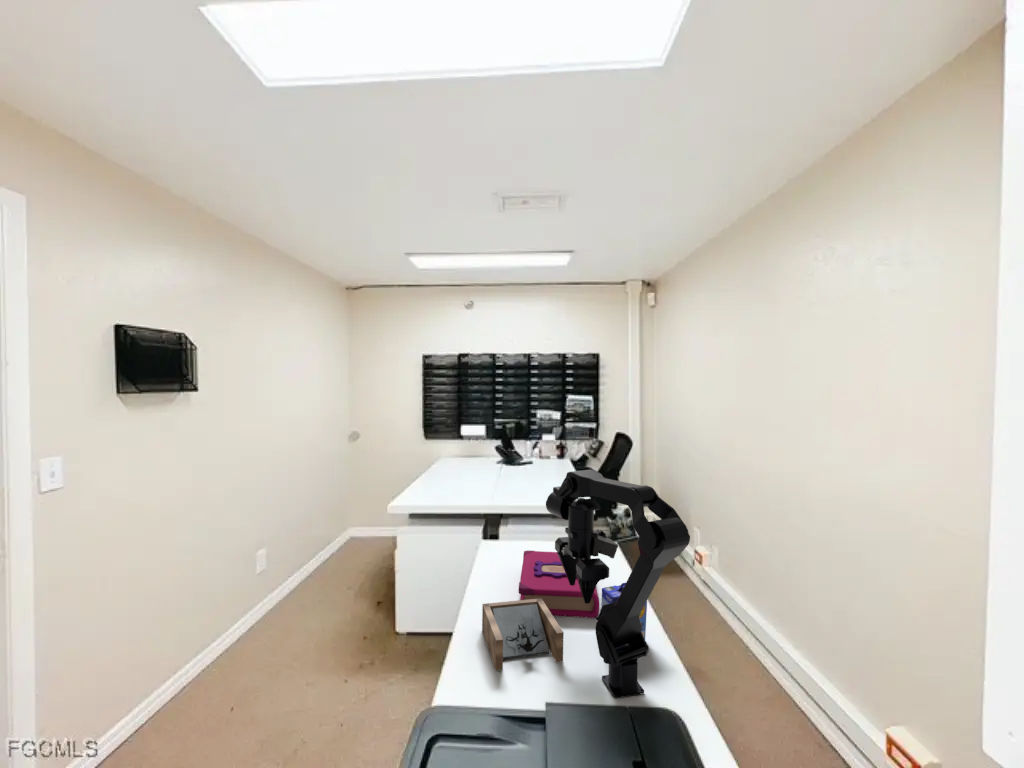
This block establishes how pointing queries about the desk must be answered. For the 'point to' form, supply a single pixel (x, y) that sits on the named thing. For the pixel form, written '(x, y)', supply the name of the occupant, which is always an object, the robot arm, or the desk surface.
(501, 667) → the wooden stand
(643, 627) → the ink cartridge box
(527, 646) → the creature
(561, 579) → the book
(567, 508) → the robot arm
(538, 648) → the trapdoor
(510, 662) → the desk surface
